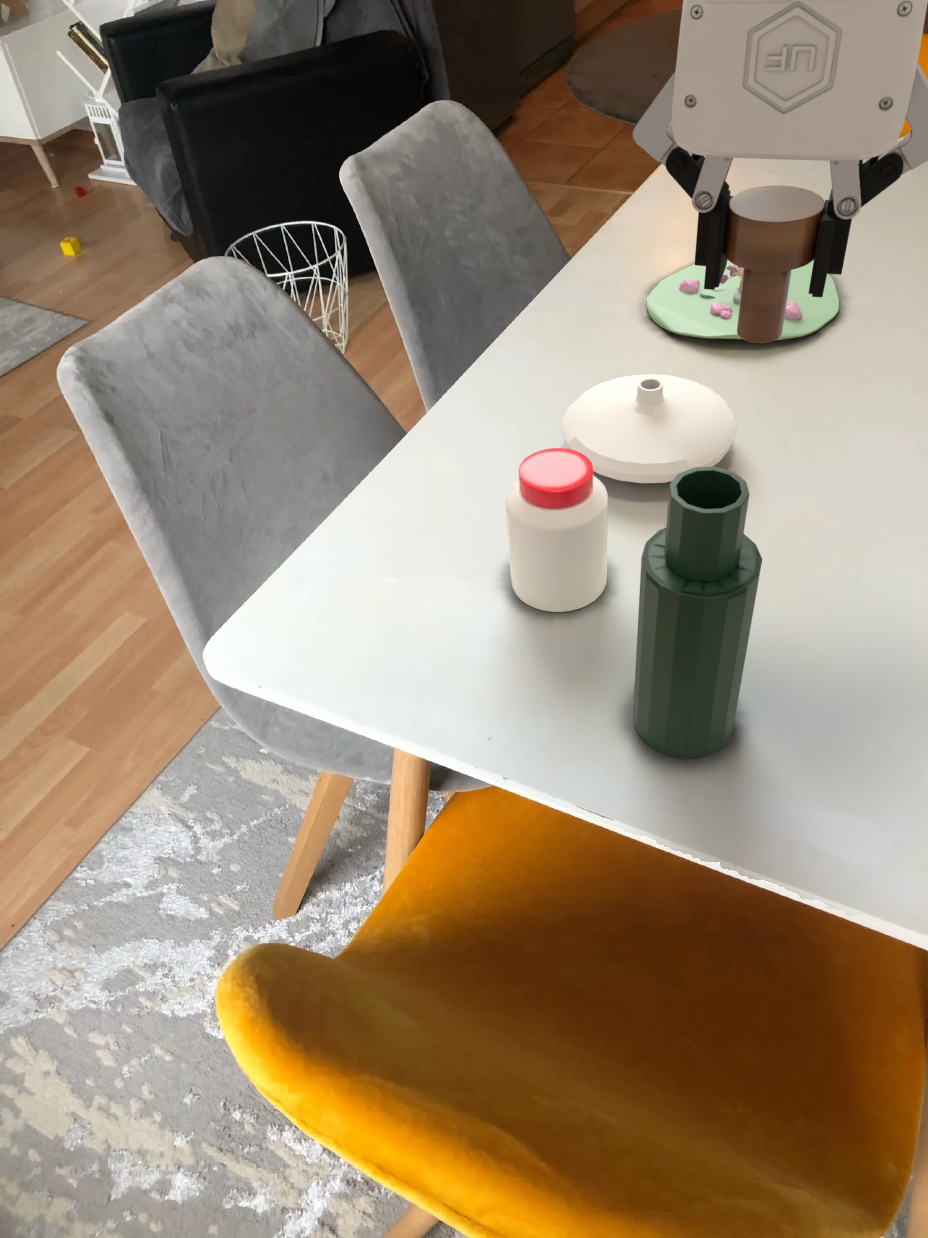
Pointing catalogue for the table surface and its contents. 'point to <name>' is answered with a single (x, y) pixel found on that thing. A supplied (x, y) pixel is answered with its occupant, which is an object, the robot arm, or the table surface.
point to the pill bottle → (557, 531)
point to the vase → (649, 427)
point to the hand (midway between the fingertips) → (766, 278)
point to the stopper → (770, 252)
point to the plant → (734, 304)
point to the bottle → (695, 615)
